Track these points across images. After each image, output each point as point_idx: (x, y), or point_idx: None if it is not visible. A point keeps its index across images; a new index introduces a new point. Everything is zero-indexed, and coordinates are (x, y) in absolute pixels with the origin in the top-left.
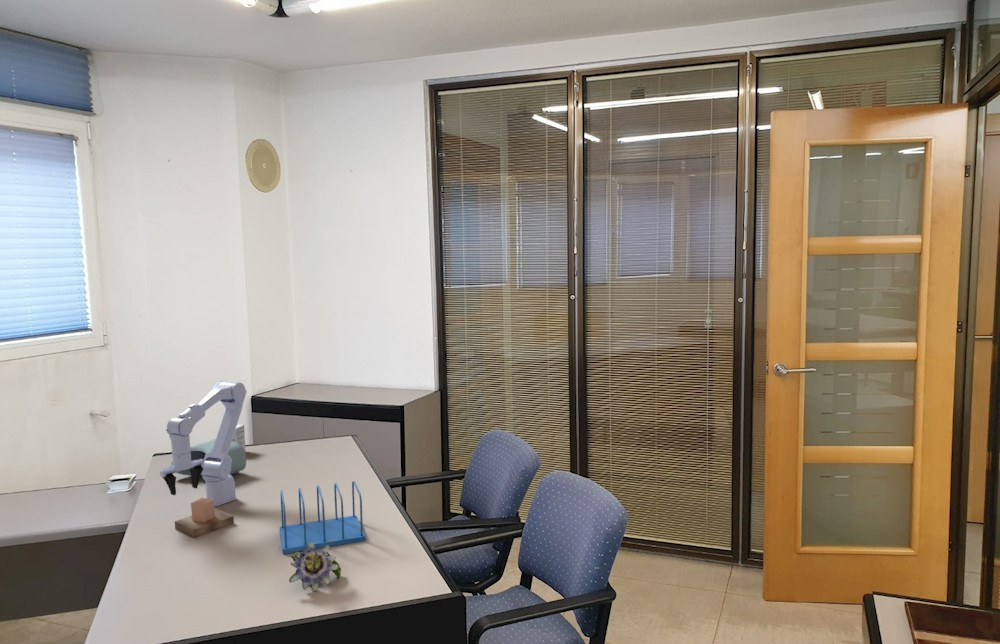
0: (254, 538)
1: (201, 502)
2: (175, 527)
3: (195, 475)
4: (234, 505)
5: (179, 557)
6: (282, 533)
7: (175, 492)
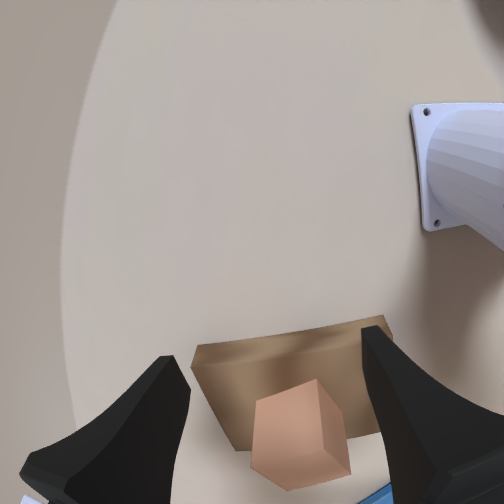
0: (351, 478)
1: (292, 478)
2: (197, 351)
3: (393, 470)
4: (482, 267)
5: (184, 468)
6: (384, 497)
7: (185, 408)
